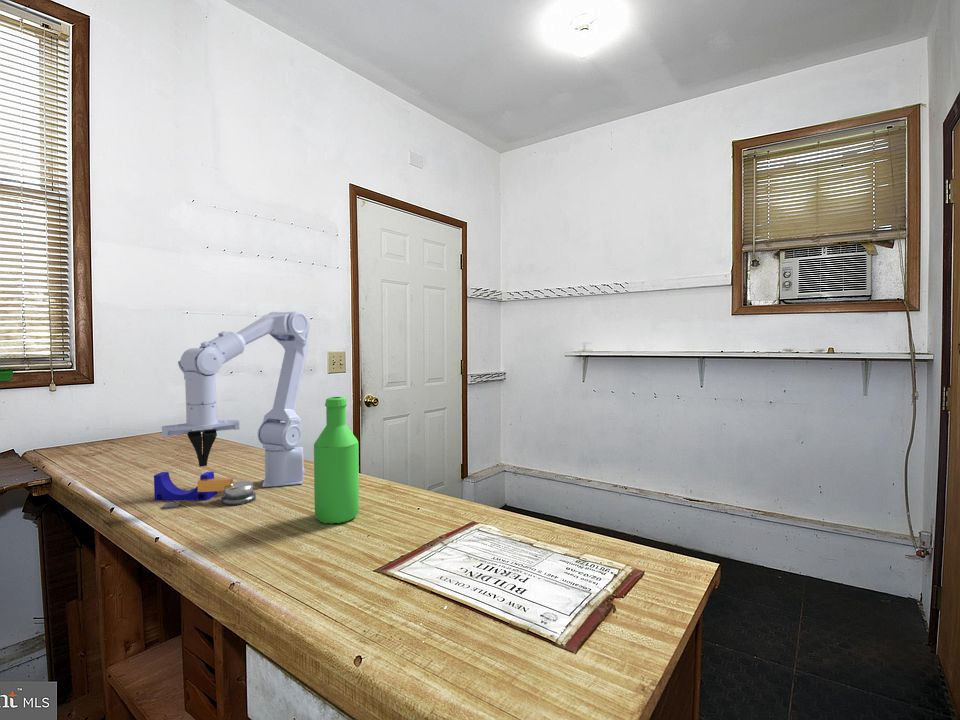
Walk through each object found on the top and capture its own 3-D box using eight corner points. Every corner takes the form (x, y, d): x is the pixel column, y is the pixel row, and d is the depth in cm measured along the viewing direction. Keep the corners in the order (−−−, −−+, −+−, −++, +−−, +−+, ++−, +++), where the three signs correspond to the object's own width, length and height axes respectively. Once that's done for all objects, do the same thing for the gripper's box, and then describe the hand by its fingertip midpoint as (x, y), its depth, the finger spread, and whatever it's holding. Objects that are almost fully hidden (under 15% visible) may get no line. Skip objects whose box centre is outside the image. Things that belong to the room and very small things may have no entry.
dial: (256, 490, 114) (256, 474, 114) (248, 498, 108) (247, 482, 108) (205, 491, 112) (204, 476, 112) (193, 500, 106) (192, 484, 106)
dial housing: (257, 494, 115) (257, 489, 115) (253, 503, 108) (253, 499, 108) (224, 497, 113) (224, 492, 113) (218, 507, 106) (218, 502, 106)
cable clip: (217, 494, 115) (217, 469, 115) (207, 501, 111) (206, 475, 110) (166, 495, 115) (166, 470, 115) (154, 501, 110) (153, 475, 110)
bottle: (346, 527, 95) (345, 400, 94) (306, 523, 97) (304, 399, 95) (365, 511, 103) (365, 395, 102) (328, 508, 105) (327, 394, 104)
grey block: (180, 504, 108) (180, 502, 108) (177, 507, 106) (177, 505, 106) (164, 505, 107) (164, 504, 107) (161, 509, 105) (161, 507, 105)
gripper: (235, 399, 112) (237, 456, 112) (160, 403, 104) (162, 466, 104) (240, 402, 106) (241, 463, 107) (161, 407, 98) (163, 473, 98)
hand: (202, 465), depth 105 cm, fingers closed
